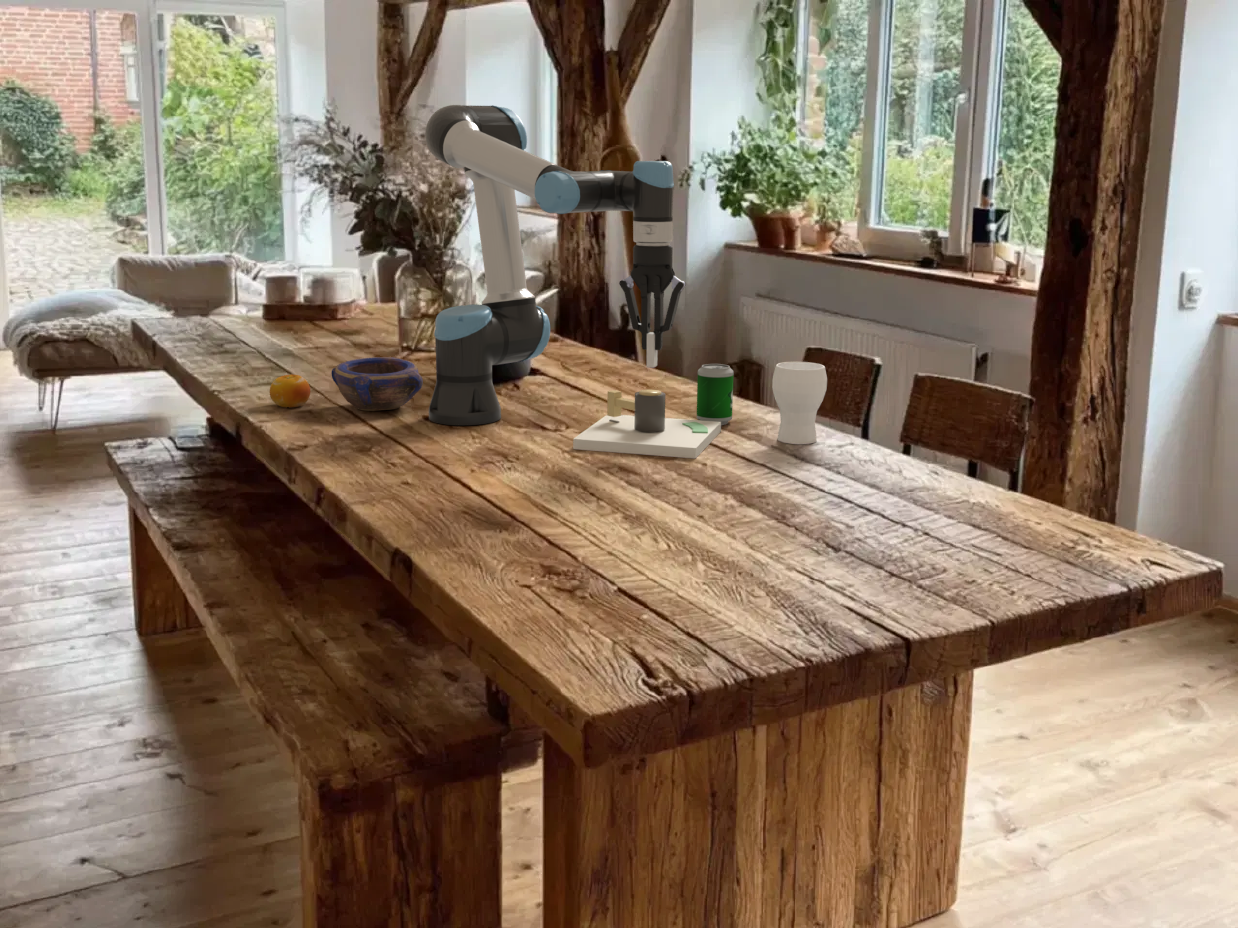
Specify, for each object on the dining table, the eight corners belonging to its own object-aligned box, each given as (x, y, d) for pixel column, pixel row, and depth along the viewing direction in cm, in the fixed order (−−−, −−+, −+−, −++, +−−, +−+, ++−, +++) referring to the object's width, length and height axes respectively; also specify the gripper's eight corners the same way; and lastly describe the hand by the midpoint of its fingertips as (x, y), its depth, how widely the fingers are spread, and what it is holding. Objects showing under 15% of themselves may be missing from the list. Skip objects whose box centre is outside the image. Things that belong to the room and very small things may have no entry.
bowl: (349, 419, 269) (347, 372, 266) (326, 404, 284) (324, 359, 282) (431, 412, 277) (429, 366, 274) (404, 397, 292) (403, 354, 290)
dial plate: (573, 449, 246) (573, 437, 245) (607, 423, 268) (607, 412, 267) (695, 458, 239) (696, 446, 239) (720, 431, 262) (721, 420, 261)
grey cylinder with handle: (671, 428, 253) (671, 392, 251) (649, 433, 249) (650, 396, 247) (621, 417, 263) (621, 382, 261) (600, 421, 259) (600, 385, 257)
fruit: (255, 391, 279) (276, 361, 278) (279, 399, 287) (298, 369, 286) (280, 413, 276) (301, 382, 275) (303, 420, 284) (323, 390, 283)
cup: (828, 436, 258) (832, 363, 254) (818, 448, 248) (822, 372, 245) (776, 432, 261) (779, 359, 258) (764, 443, 252) (767, 368, 248)
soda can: (729, 427, 266) (731, 370, 263) (693, 425, 267) (695, 368, 264) (733, 419, 273) (735, 364, 270) (698, 417, 274) (700, 362, 271)
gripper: (614, 244, 242) (614, 368, 248) (681, 246, 239) (680, 371, 245) (625, 242, 249) (624, 362, 255) (690, 243, 246) (688, 365, 252)
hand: (651, 366), depth 250 cm, fingers closed
